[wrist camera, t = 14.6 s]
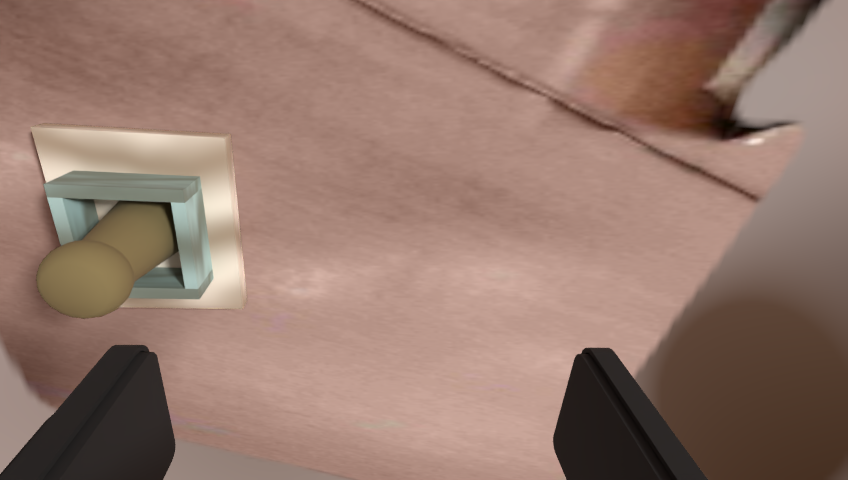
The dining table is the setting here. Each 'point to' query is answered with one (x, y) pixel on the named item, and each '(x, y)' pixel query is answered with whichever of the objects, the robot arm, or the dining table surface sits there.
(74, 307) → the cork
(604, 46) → the dining table surface
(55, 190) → the shaker caddy
